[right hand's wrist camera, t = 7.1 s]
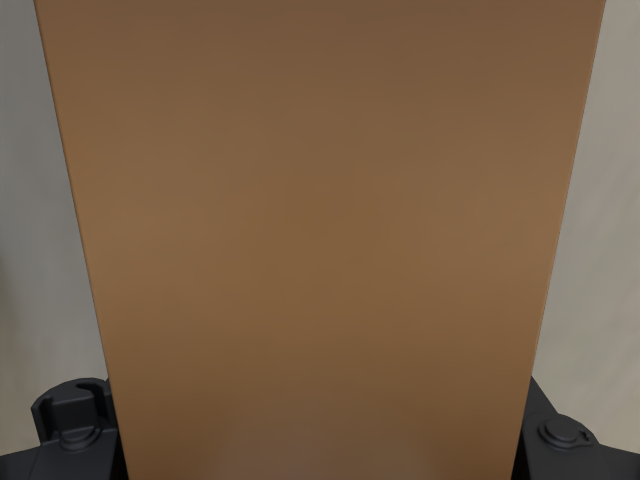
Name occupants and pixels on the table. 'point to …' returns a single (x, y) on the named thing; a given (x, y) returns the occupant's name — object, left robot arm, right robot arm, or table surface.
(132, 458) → the bar
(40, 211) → the table surface
